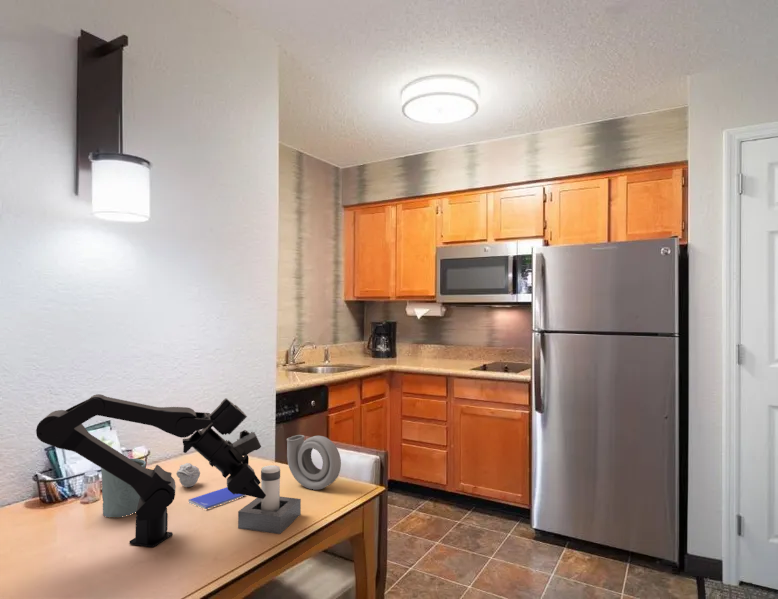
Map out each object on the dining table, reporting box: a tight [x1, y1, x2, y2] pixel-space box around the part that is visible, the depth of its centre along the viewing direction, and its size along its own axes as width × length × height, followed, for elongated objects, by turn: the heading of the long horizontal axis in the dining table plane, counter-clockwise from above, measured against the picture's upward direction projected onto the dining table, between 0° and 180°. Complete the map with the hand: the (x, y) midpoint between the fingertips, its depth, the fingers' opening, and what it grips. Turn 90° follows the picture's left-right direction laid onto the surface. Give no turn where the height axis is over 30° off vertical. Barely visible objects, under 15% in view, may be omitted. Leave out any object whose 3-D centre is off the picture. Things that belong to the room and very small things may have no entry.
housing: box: [237, 496, 302, 535], centre depth 122 cm, size 11×11×4 cm
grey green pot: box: [100, 458, 147, 518], centre depth 127 cm, size 10×10×12 cm
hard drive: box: [188, 486, 247, 509], centre depth 135 cm, size 2×8×12 cm
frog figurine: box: [176, 462, 201, 488], centre depth 144 cm, size 6×7×7 cm
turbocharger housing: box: [286, 434, 342, 491], centre depth 145 cm, size 17×6×15 cm, turn 62°
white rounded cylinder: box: [260, 464, 281, 512], centre depth 122 cm, size 5×5×13 cm
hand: (261, 490), depth 121 cm, fingers open, 9 cm apart
